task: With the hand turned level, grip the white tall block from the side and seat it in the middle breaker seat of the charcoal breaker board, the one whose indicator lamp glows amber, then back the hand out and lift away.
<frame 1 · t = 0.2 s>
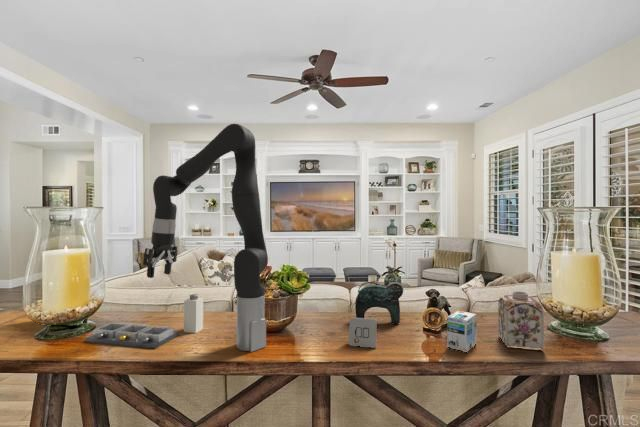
hand: (159, 275, 126), 22 cm above the table, tool pointing down, fingers open, 8 cm apart
dark green figurine: (379, 323, 145), on the table
breaker board: (133, 338, 124), on the table
white tall block: (193, 330, 133), on the table
light bulb box: (462, 347, 119), on the table
decorative jar: (519, 344, 122), on the table
wall outlet: (67, 325, 139), on the table
electrical switch: (362, 345, 120), on the table
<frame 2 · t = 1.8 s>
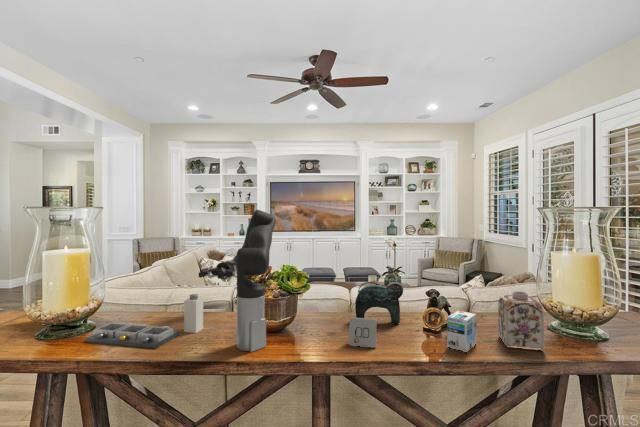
hand: (209, 275, 144), 19 cm above the table, tool horizontal, fingers open, 8 cm apart
nothing on the table moved.
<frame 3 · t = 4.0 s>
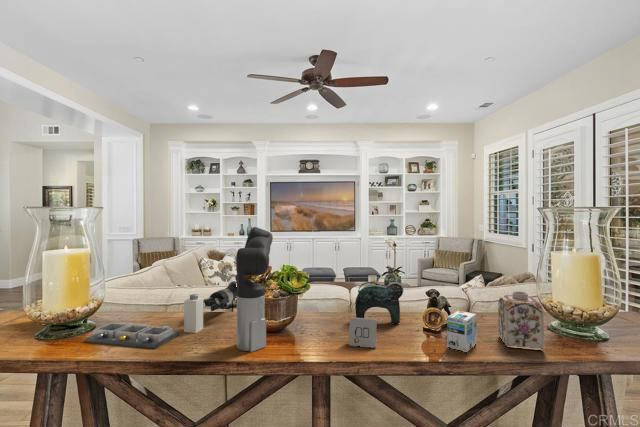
hand: (201, 308, 139), 7 cm above the table, tool horizontal, fingers open, 8 cm apart
nothing on the table moved.
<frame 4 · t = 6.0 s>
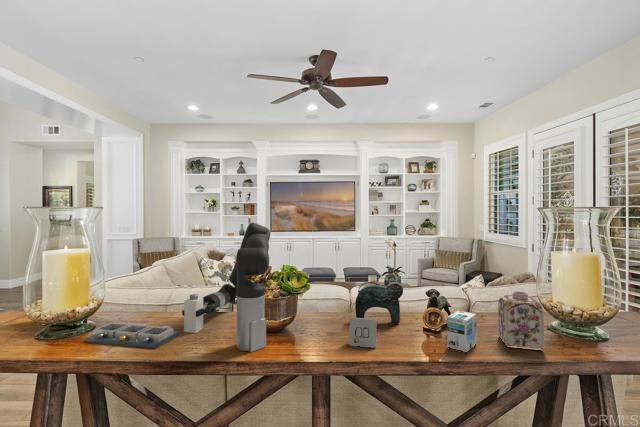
hand: (190, 313, 131), 7 cm above the table, tool horizontal, fingers closed on white tall block, 5 cm apart
white tall block: (193, 330, 133), on the table, touching gripper
everything else where it was.
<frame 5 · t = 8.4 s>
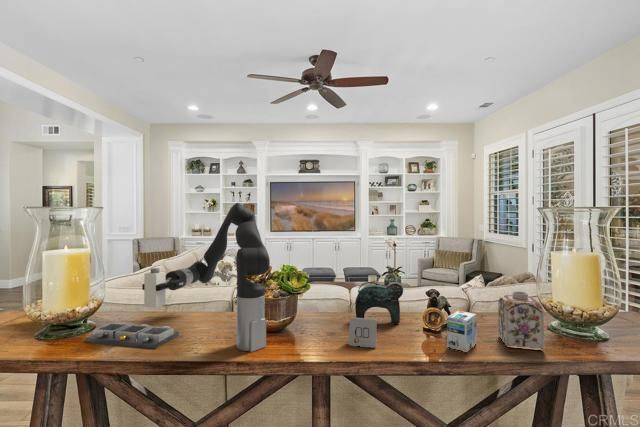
hand: (150, 287, 125), 18 cm above the table, tool horizontal, fingers closed on white tall block, 5 cm apart
white tall block: (155, 305, 128), point 11 cm above the table, touching gripper
everything else where it was.
when the fingers open (9 cm above the table, at t = 10.9 s): white tall block stays where it is, resting on breaker board.
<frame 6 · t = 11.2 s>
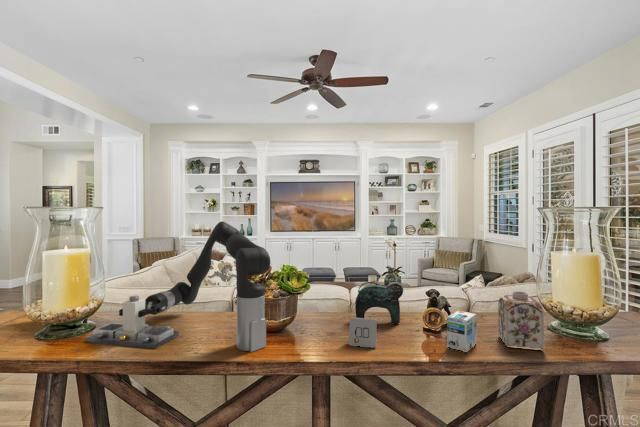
hand: (129, 313, 122), 10 cm above the table, tool horizontal, fingers open, 7 cm apart
white tall block: (134, 334, 124), point 1 cm above the table, touching breaker board
everything else where it was.
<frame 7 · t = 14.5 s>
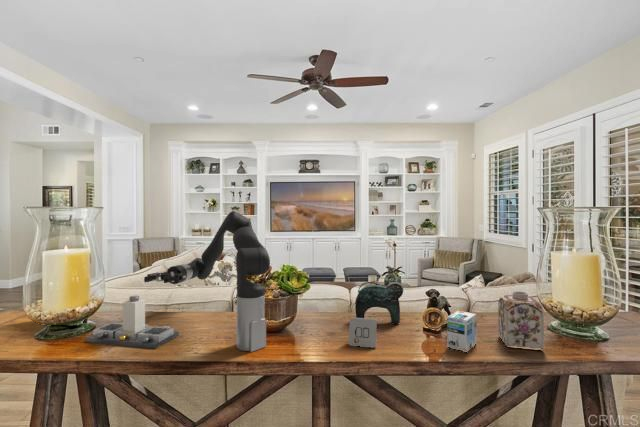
hand: (154, 280, 135), 19 cm above the table, tool horizontal, fingers open, 8 cm apart
nothing on the table moved.
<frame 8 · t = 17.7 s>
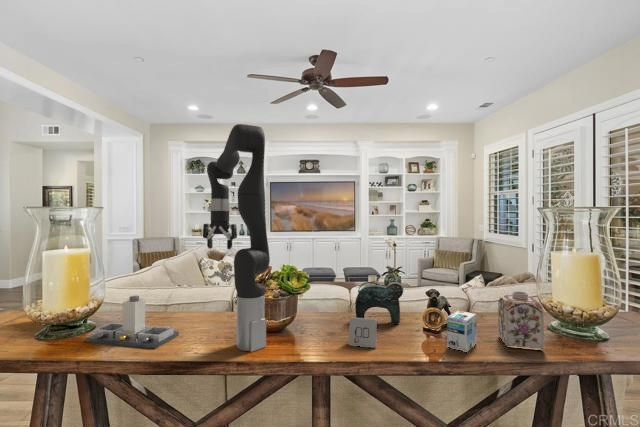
hand: (219, 248, 145), 30 cm above the table, tool pointing down, fingers open, 8 cm apart
nothing on the table moved.
at the end: white tall block 0.1 cm off-centre on the breaker board, point 1.5 cm above the breaker board's base; white tall block tilted 0°; the gripper is holding nothing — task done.
